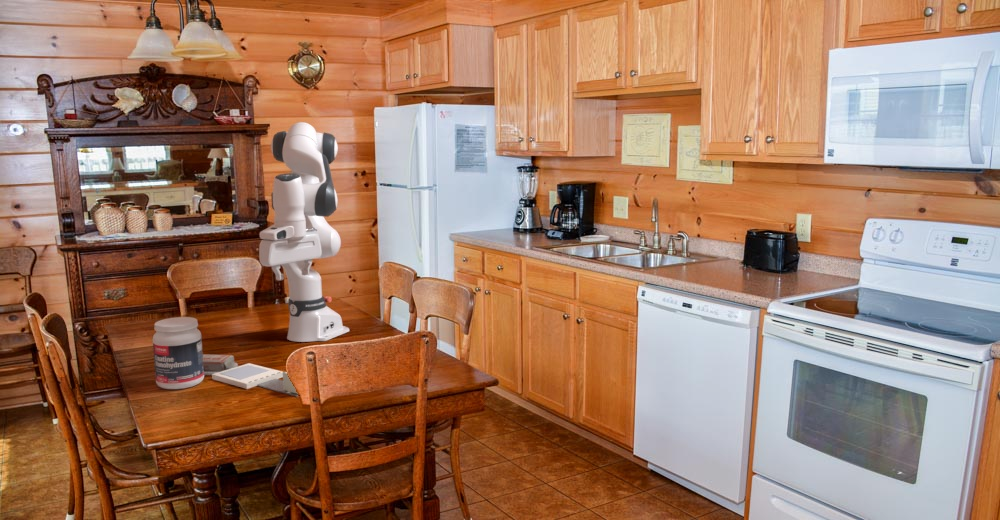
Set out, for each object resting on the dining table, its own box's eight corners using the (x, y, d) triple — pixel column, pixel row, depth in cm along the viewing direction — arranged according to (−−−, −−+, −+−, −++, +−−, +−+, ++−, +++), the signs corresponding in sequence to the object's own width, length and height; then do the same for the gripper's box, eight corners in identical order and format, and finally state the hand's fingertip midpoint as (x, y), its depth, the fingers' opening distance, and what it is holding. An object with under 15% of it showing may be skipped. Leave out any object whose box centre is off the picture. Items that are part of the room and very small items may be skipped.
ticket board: (249, 367, 233) (249, 362, 233) (323, 387, 214) (323, 381, 214) (212, 379, 223) (211, 373, 222) (287, 400, 204) (286, 394, 204)
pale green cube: (297, 384, 215) (296, 367, 214) (312, 388, 211) (311, 371, 210) (283, 389, 211) (282, 372, 210) (298, 393, 207) (297, 375, 206)
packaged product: (237, 351, 235) (222, 361, 225) (239, 367, 236) (223, 377, 226) (182, 350, 237) (165, 360, 227) (184, 365, 238) (166, 375, 228)
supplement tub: (153, 393, 211) (147, 328, 208) (159, 379, 223) (154, 318, 220) (202, 388, 214) (197, 324, 211) (206, 375, 227) (202, 314, 224)
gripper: (310, 226, 230) (313, 271, 233) (254, 233, 214) (257, 281, 216) (325, 227, 227) (327, 273, 229) (269, 234, 210) (271, 284, 212)
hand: (292, 277), depth 222 cm, fingers open, 8 cm apart
